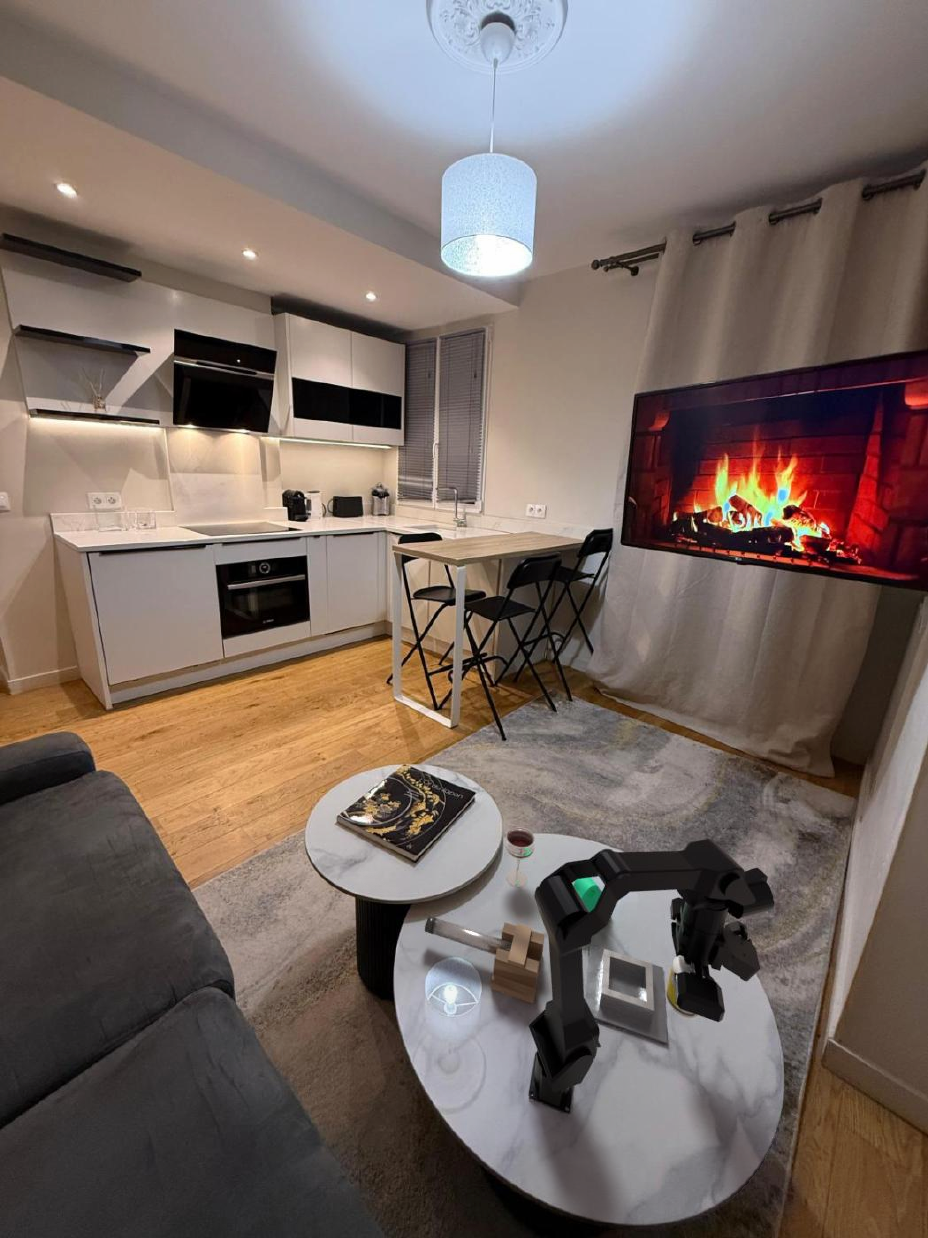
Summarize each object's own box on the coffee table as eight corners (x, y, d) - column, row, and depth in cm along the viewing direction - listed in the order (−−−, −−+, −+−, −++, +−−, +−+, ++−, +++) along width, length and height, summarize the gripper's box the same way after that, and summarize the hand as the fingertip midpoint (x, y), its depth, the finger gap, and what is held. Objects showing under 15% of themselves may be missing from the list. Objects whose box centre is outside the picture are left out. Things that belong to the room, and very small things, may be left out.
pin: (513, 950, 96) (514, 939, 95) (509, 964, 94) (510, 952, 93) (430, 923, 101) (430, 912, 100) (424, 935, 99) (424, 924, 98)
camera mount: (586, 887, 115) (591, 852, 112) (608, 913, 109) (614, 877, 106) (544, 904, 110) (548, 868, 107) (564, 933, 104) (569, 895, 101)
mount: (533, 1004, 90) (536, 975, 88) (491, 989, 92) (493, 960, 90) (542, 954, 99) (545, 927, 97) (503, 942, 101) (506, 915, 99)
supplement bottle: (683, 981, 85) (694, 938, 82) (708, 1013, 80) (720, 968, 77) (658, 991, 83) (668, 948, 80) (681, 1024, 78) (693, 979, 75)
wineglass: (516, 862, 121) (519, 823, 118) (536, 880, 116) (541, 839, 113) (496, 876, 117) (499, 835, 114) (516, 895, 112) (520, 853, 109)
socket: (666, 1045, 84) (670, 1031, 83) (583, 1016, 88) (586, 1001, 87) (662, 969, 97) (665, 956, 96) (589, 947, 101) (591, 933, 100)
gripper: (776, 995, 65) (750, 1074, 70) (749, 888, 82) (729, 957, 87) (686, 965, 69) (667, 1042, 73) (678, 868, 86) (663, 936, 90)
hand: (685, 990), depth 81 cm, fingers closed on supplement bottle, 5 cm apart
